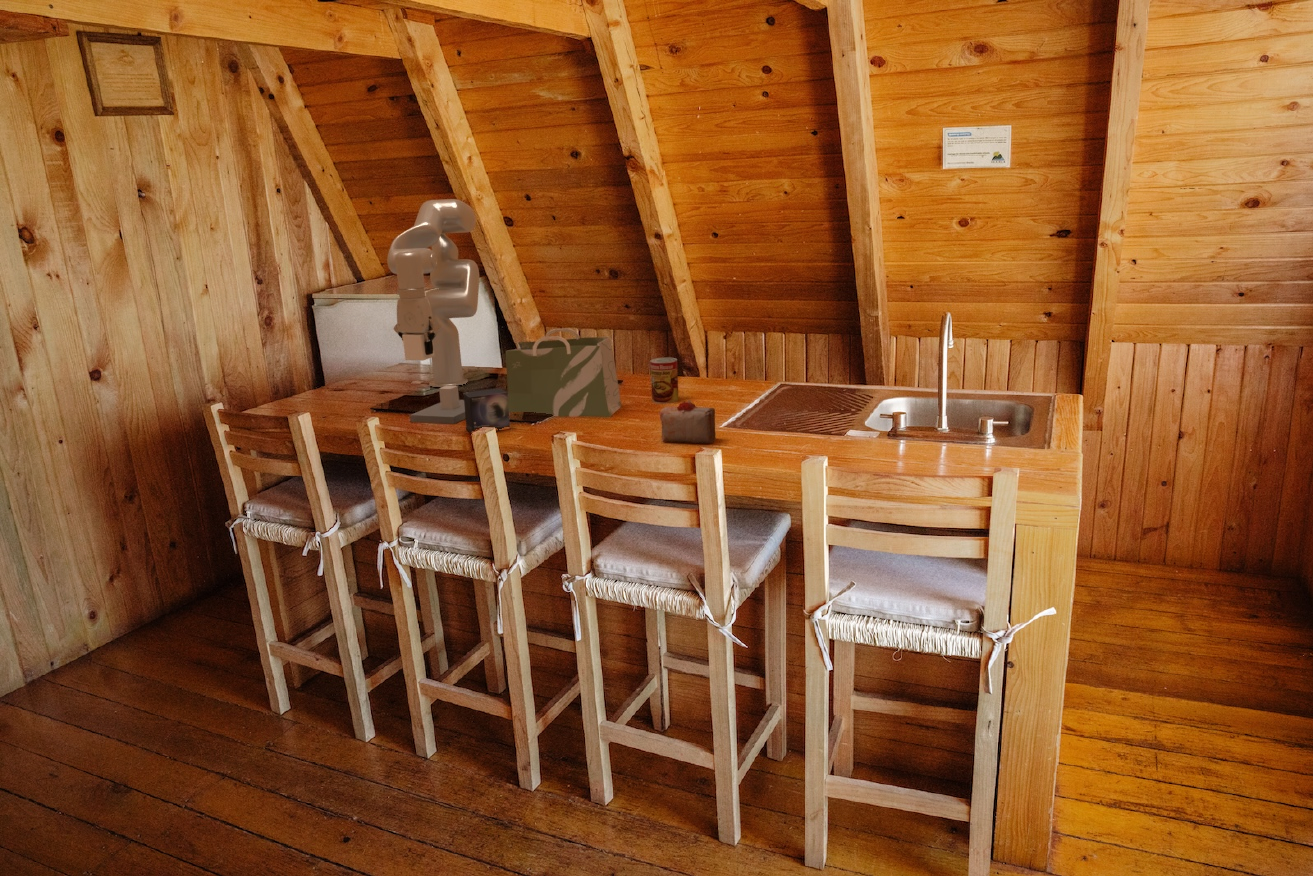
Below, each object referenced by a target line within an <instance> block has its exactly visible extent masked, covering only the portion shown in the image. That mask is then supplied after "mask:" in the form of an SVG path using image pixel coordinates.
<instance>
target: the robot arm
mask: <svg viewBox="0 0 1313 876" xmlns="http://www.w3.org/2000/svg"><path fill="white" fill-rule="evenodd" d="M413 224H414V225H413V226H411V227H410V228H408V229H407V230H405V231H403V232H402V233H401V234H399V235H398V236H396V237H395V238H394V239H393V241H392V242H391V244H390V247H389V250H388V253H387V257H386V258H387V261H386V262H387V266H388V267H387V268H388V269H389V270H390V271H391V273H393V274H394V275H396V277H397V287H398V289H397V290H396V291H395V293H396V295H397V296H398V295H399V298H398V299H397V300H396V301H397V302H396V324H395V326H393V330H394V332H395V333H396V334H397V335H398V336H399V338H401V340H402V342H403V336H402V335H404V334H408V333H422V334H424V338H425V340H426V342H424V344H425V352H426V355H430V354H432V353H433V347H434V355H435V356H434V357H431V358H430V359H431V366H432V367H431V368H432V376H433V380H430V381H429V382H428V383H429V385H428V386H429V387H430V386H433V387H441V388H442V387H444V386H456V385H462V386H464V385H463V384H465V385H467V384H468V383H469V379H468V378H465V377H464V375H467V374H468V373H469V370H468V367H464V368H463V365H462V355H461V346H460V336H459V334H460V333H459V331H458V330H459V329H458V327H457V326H456V325H455V324H454V322H453V321H452V320H451V319H459V318H460V319H462V318H465V319H466V318H471V317H474V316H475V315H476V313H477V310H478V307H479V305H478V304H479V293H480V292H479V290H480V272H479V271H480V270H479V267H478V264H477V263H476V261H474V260H472V259H468V258H467V259H466V258H464V259H463V258H461V259H459V248H458V247H457V245H456V243H454V241H453V240H452V239H451V238H450V237H448V235H446V234H456V233H457V234H460V233H461V234H462V233H471V232H472V231H473V230H474V229H475V228H476V224H477V220H476V213H475V211H474V210H473V208H472V207H471V206H470V205H468V204H467V203H466V202H465V201H462V200H461V199H457V198H456V199H455V198H447V199H445V198H444V199H430V200H426V201H424V202H423V203H422V204H421V206H420V207H419V210H418V213H417V215H416V219H415V222H414V223H413ZM430 247H431V249H430ZM424 274H430V275H429V278H430V279H429V280H430V283H431V285H432V287H434V288H435V289H434V288H433V289H430V290H428V291H426V285H425V277H424V276H425V275H424ZM431 331H432V333H431ZM427 333H428V334H427ZM432 340H433V342H432ZM467 382H468V383H467ZM466 383H467V384H466ZM433 387H432V388H433Z"/></svg>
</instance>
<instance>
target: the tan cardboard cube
mask: <svg viewBox="0 0 1313 876" xmlns="http://www.w3.org/2000/svg"><path fill="white" fill-rule="evenodd" d="M431 333H432V331H431ZM427 334H428V333H427ZM402 336H403V341H402V342H403V343H402V344H403V351H404V359H405V360H404V361H423V362H424V361H426V360H429V359H431V357H434V356H435V355H434V347H433V353H432V354H430V355H426V352H425V344H424V342H426V340H425V338H424V334H422V333H408V334H404V335H402ZM432 342H433V340H432Z"/></svg>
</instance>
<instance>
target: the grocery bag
mask: <svg viewBox="0 0 1313 876" xmlns="http://www.w3.org/2000/svg"><path fill="white" fill-rule="evenodd" d="M559 332H566V333H570V334H573V335H574V337H575V338H569V339H566V338H564V337H562V336H560V335H556V336H555V335H554V336H550V335H552V334H554V333H559ZM615 362H616V361H615V357H614V352H613V347H612V343H611V338H610V336H603V337H600V336H599V337H592V336H591V337H590V336H589V337H587V336H586V337H580V335H579V333H577V331H576V330H574V329H572V328H569V327H568V328H566V327H565V328H554V329H551V330H549V331H548V332H546V334H545V336H542V337H540V338H539V339H537V340H535V341H522V342H521V341H519V342H517V348H515V349H509V350H505V363H506V364H505V365H506V380H507V394H508V409H509V412H534V413H535V412H536V413H546V414H552V415H555V416H559V417H558V418H560V417H561V418H565V417H566V418H569V417H570V418H571V417H572V418H573V417H578V418H579V417H585V418H586V417H587V418H589V417H590V418H611V417H612V416H613V415H614V413H615V412H617V411H618V410H619V409H620V408H621V407H622V402H621V395H620V388H619V387H620V386H619V382H618V381H619V380H618V375H617V369H616V363H615Z"/></svg>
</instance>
